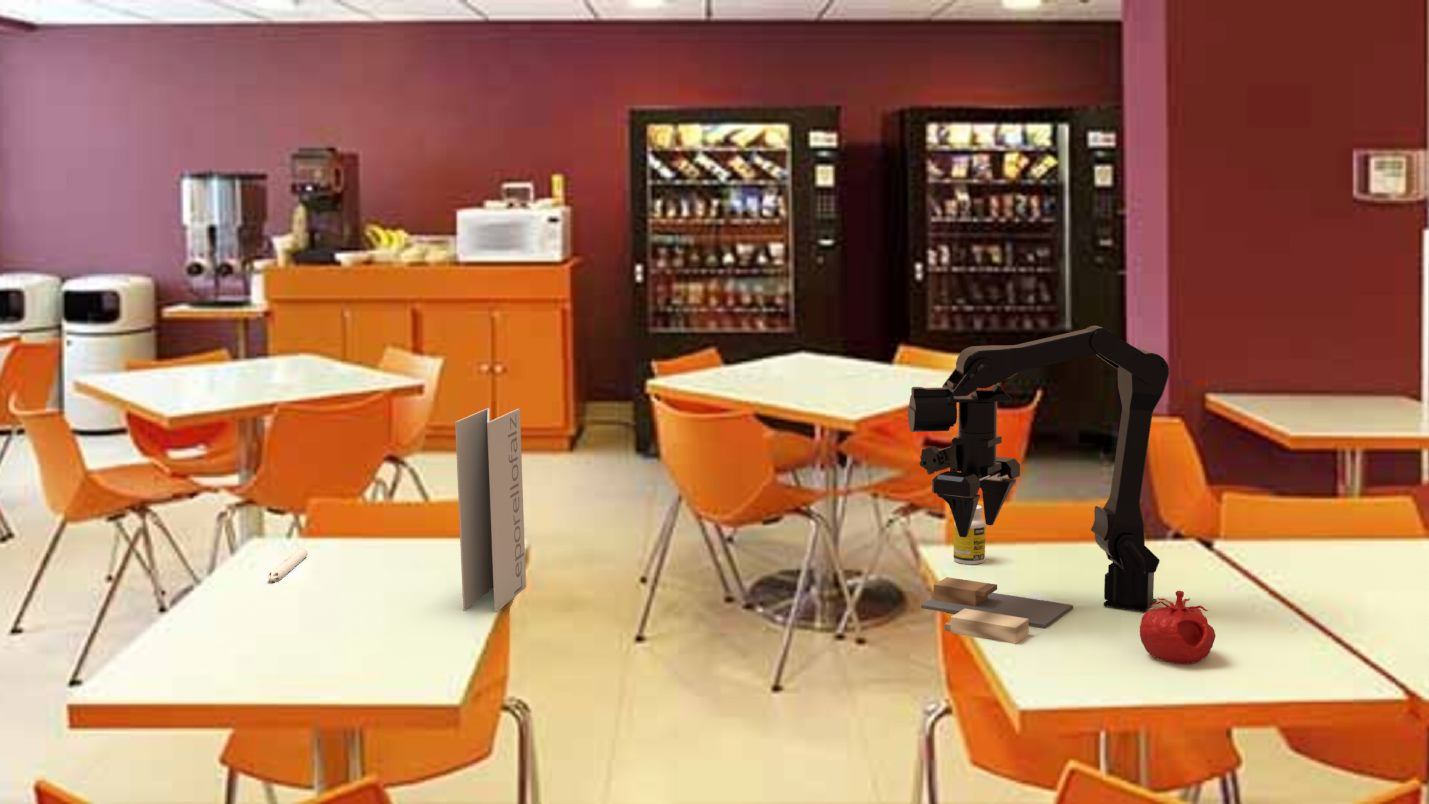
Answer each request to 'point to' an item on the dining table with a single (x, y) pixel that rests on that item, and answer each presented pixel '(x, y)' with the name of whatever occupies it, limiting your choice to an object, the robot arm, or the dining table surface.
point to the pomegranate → (1177, 632)
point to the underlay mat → (1009, 608)
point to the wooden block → (962, 591)
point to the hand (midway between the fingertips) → (976, 530)
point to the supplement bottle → (971, 541)
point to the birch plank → (988, 626)
